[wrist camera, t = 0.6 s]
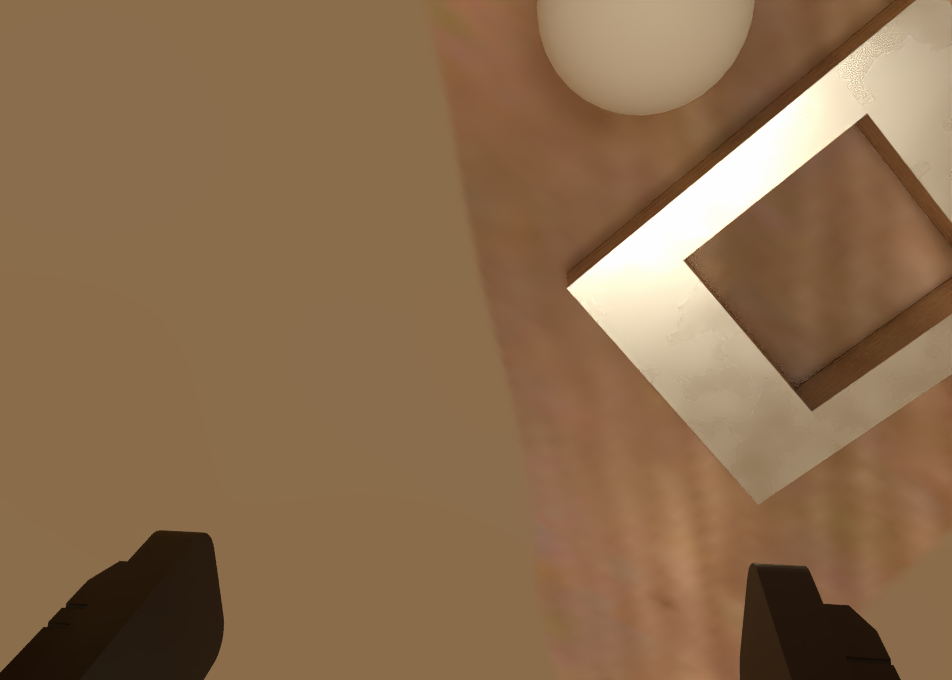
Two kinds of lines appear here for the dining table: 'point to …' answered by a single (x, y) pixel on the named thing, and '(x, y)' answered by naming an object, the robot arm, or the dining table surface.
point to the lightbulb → (642, 49)
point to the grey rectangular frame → (731, 193)
